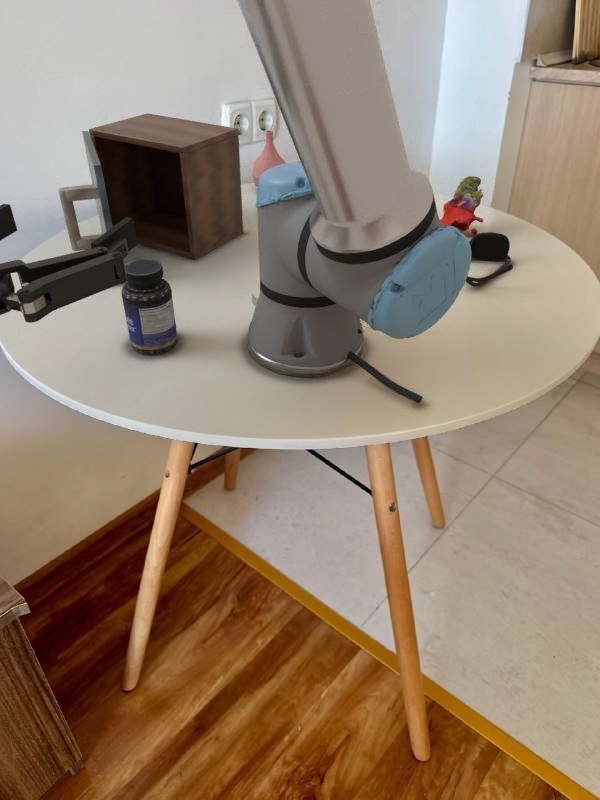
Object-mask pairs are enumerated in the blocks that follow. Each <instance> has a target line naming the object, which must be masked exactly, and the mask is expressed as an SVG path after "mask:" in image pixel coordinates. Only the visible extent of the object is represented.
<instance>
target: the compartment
mask: <svg viewBox="0 0 600 800" xmlns="http://www.w3.org/2000/svg"><path fill="white" fill-rule="evenodd" d="M88 132H89V134H90V137H91V140H92V142H93V145H94V148H95V150H96V153H97V155H98V158H99V161H100V163H101V167H102V172H103V178H104V183H105V188H106V194H107V199H108V204H109V210H110V215H111V221H112V226H113V227H114V226H115V225H116V224H118V223H119V222H120V221H122V220H123V219H124V218H133V222H134V228H135V234H136V241H137V245H142V246H146V247H149V248H152V249H155V250H160V251H163V252H167V253H169V254H174V255H177V256H180V257H184V258H187V259H189V260H190V259H191V260H194V261H196V260H198V259H199V258H201V257H203V256H205V255H207V254H209V253H211V252H212V251H214V250H215V249H217V248H219V247H222V246H223V245H225V244H227V243H228V242H230V241H232V240H234V239H235V238H238V237H239V236H241V235H243V234H244V221H243V218H244V217H243V200H242V199H243V198H242V180H241V179H242V178H241V158H240V156H241V155H240V137H239V128H237V127H233V126H232V127H230V126H225V125H219V124H213V123H207V122H202V121H195V120H190V119H183V118H177V117H171V116H165V115H160V114H153V113H144V114H140V115H136V116H133V117H128V118H125V119H121V120H118V121H113V122H111V123H110V122H109V123H106V124H102V125H99V126H94V127H91V128H88Z"/></svg>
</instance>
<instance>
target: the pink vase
mask: <svg viewBox="0 0 600 800" xmlns="http://www.w3.org/2000/svg"><path fill="white" fill-rule="evenodd" d="M286 163H287V162H286V161H285V160H284V158H282V156H281V155H280V154H279V152H278V150H277V148H276V146H275V144H274V131H273V130H266V131H265V144H264V147H263V149H262V151H261V153H260V154H259V156H258V157H257V159H255V160H254V162H253V166H252V174H251V176H252V180H253V183H254V185H255V187H256V188H257V187H258V180H259V178H260V176H261V175H262V173H264V172H265V171H266V170H268V169H270V168H272V167H274V166H277V165H281V164H286Z"/></svg>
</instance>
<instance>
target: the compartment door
mask: <svg viewBox="0 0 600 800" xmlns="http://www.w3.org/2000/svg"><path fill="white" fill-rule="evenodd" d="M81 134H82V139H83V144H84V150H85V153H86V154H85V155H86V160H87V165H88V169H89V174H90V180H91V184H83V185H72V186H64V187H59V188H58V189H57V190H58V195H59V200H60V204H61V209H62V212H63V217H64V221H65V224H66V225H65V226H66V229H67V234H68V238H69V242H70V247H71V250H72V251H74V252H79V251H84V250H88V249H92V247H91V243H92V242H93V241H94V240H96V239H97V238H99V237H100V236H101V235H103V234H104V233H105V232H107V231H108V230H109V229H111V228H112V227H113V226H112V221H111V215H110V210H109V204H108V199H107V194H106V188H105V183H104V178H103V172H102V167H101V163H100V161H99V158H98V155H97V153H96V150H95V148H94V145H93V142H92V140H91V137H90V134H89V130H82V131H81ZM87 200H95V204H96V205H95V206H96V209H97V214H98V219H99V220H98V221H99V225H100V230H101V233H98V234H97V233H96V234H90V235H83V236H81V232H80V227H79V222H78V219H77V214H76V210H75V205H74V202H79V201H80V202H81V201H87Z"/></svg>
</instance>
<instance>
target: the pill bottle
mask: <svg viewBox="0 0 600 800" xmlns="http://www.w3.org/2000/svg"><path fill="white" fill-rule="evenodd" d="M124 265H125V271H126V276H127V281H126V282H124V283H123V286H122V288H121V299H122V304H123V305H122V306H123V311H124V315H125V316H124V317H125V321H126V327H127V332H128V337H129V341H130V346H131V348H132V349H133V350H134V351H136V352H137V353H140V354H142V355H150V356H151V355H160V354H163V353H166V352H168V351H170V350H172V349H173V348H174V347H175V346H176V345H177V342H178V331H177V324H176V316H175V309H174V300H173V291H172V287H171V285H170V283H169V282H168V280H166V279H165V278H163V277H164V269H163V264H162V263H161V262H160V261H159V260H156V259H152V258H141V259H140V258H138V259H134V260H130V261H129V262H127V263H124Z"/></svg>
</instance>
